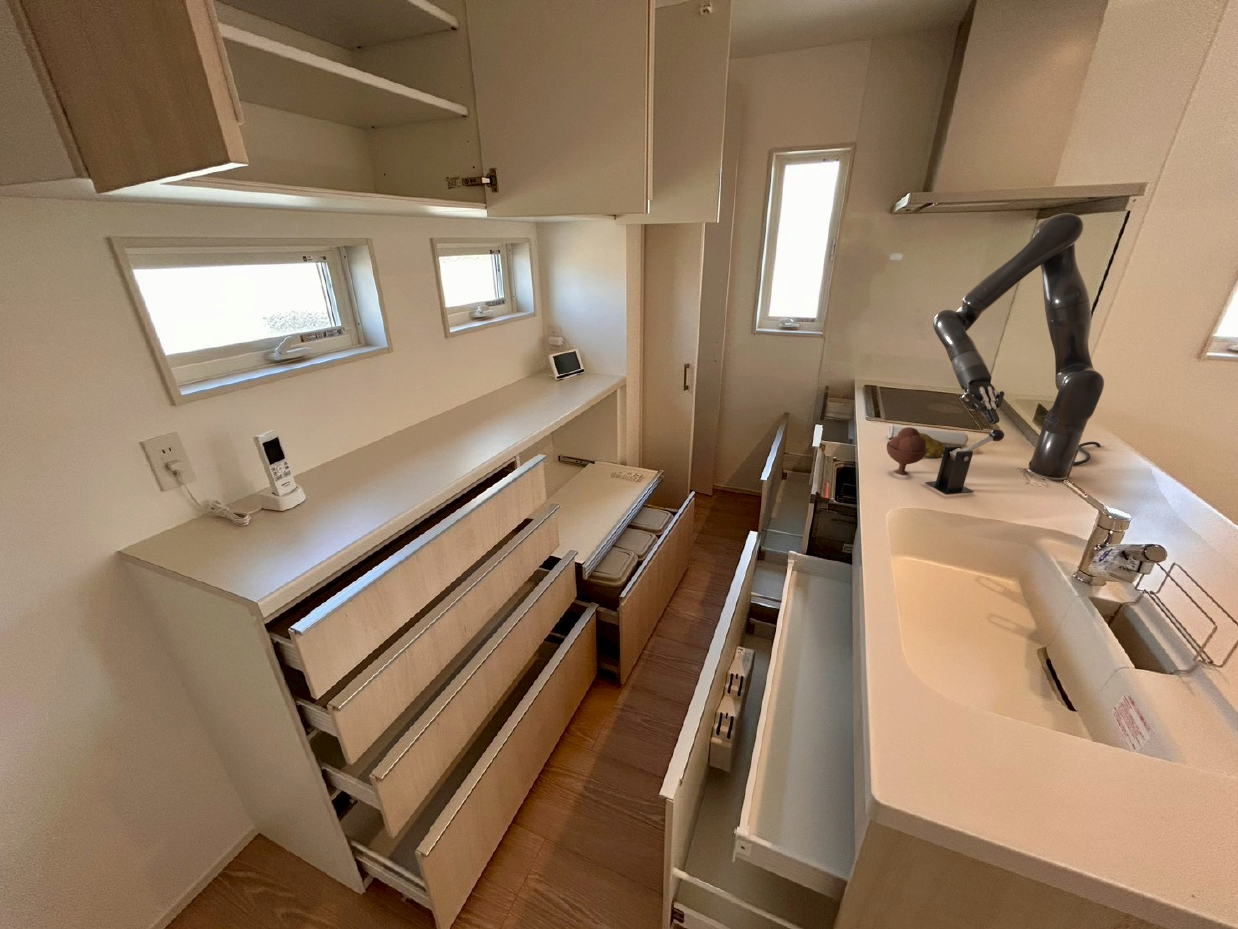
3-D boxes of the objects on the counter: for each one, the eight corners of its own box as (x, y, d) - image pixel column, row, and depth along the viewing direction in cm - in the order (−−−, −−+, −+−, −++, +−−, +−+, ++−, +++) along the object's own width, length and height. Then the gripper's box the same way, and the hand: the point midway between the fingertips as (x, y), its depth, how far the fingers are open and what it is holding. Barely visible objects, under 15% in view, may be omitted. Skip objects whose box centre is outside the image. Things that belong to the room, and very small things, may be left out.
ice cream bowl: (872, 471, 155) (882, 425, 150) (899, 466, 159) (909, 421, 153) (901, 484, 146) (912, 436, 140) (928, 479, 150) (941, 432, 144)
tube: (966, 432, 178) (889, 424, 185) (972, 432, 172) (892, 424, 180) (964, 447, 178) (887, 438, 186) (969, 447, 173) (889, 438, 181)
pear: (949, 462, 162) (955, 439, 159) (904, 458, 166) (910, 435, 163) (942, 453, 169) (948, 431, 166) (900, 449, 173) (905, 427, 170)
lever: (997, 435, 140) (996, 425, 139) (1008, 439, 137) (1006, 429, 136) (949, 459, 141) (947, 450, 139) (958, 464, 138) (957, 454, 136)
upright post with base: (950, 483, 147) (961, 442, 142) (972, 495, 140) (985, 452, 135) (923, 485, 145) (934, 444, 141) (944, 497, 138) (956, 455, 133)
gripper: (960, 363, 140) (984, 418, 134) (1000, 362, 142) (1026, 415, 136) (941, 378, 147) (963, 430, 141) (980, 376, 149) (1003, 427, 143)
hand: (994, 423), depth 138 cm, fingers closed
